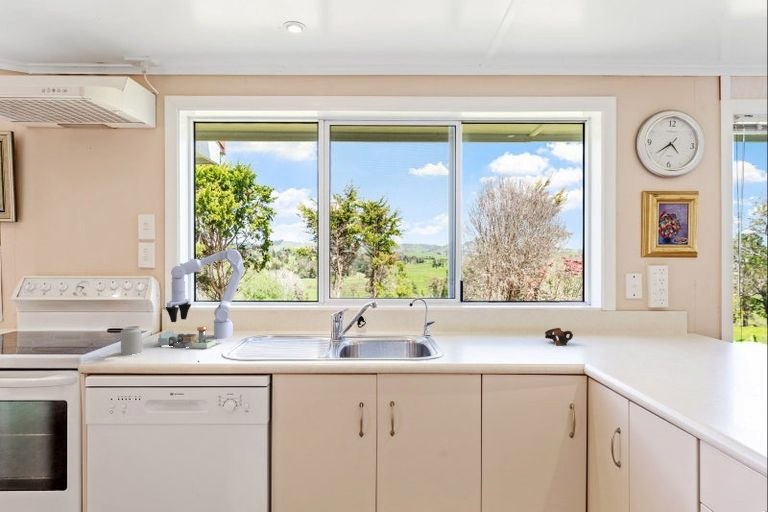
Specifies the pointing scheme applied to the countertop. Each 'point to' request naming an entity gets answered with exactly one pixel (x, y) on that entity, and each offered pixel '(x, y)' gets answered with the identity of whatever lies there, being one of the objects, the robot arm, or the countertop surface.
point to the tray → (204, 344)
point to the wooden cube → (189, 338)
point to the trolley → (169, 338)
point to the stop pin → (202, 334)
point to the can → (131, 340)
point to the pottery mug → (559, 336)
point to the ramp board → (186, 345)
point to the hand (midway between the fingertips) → (178, 320)
